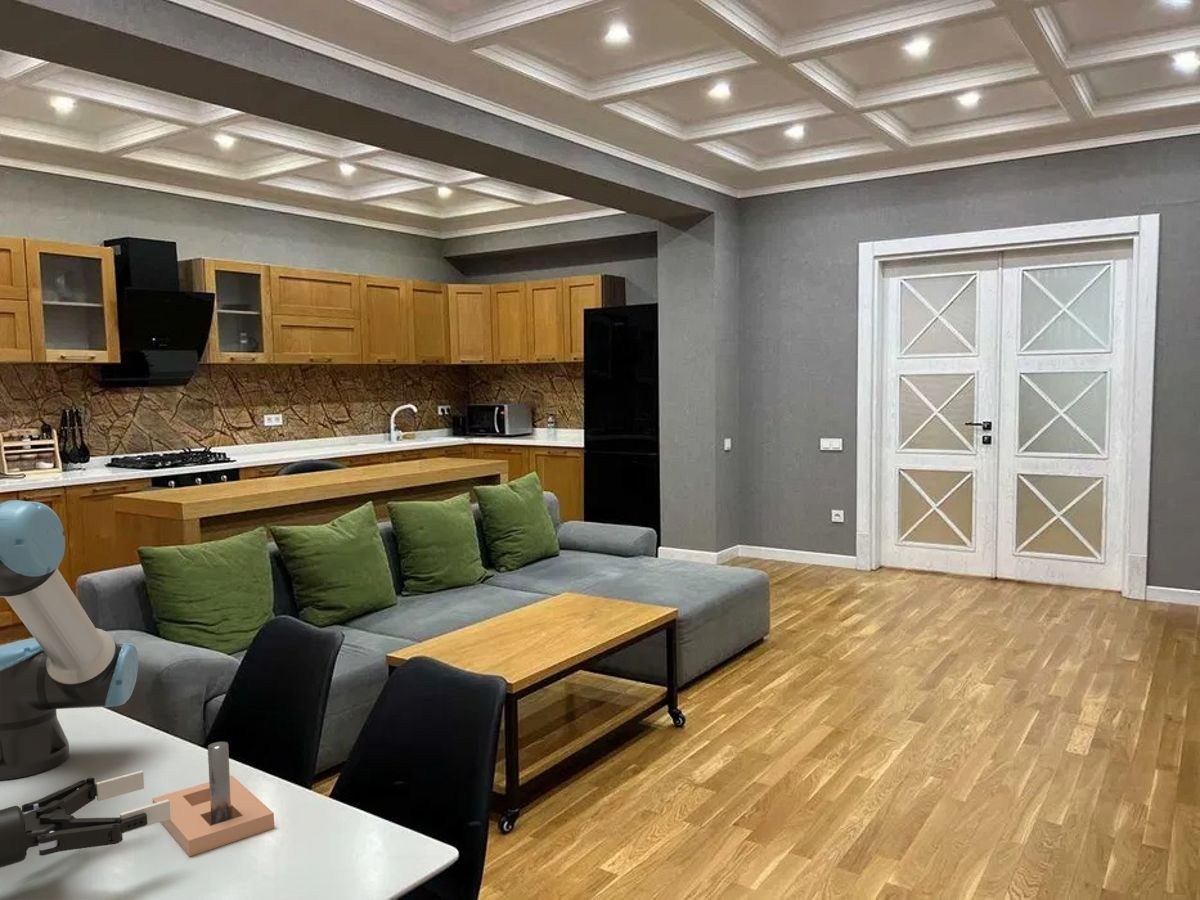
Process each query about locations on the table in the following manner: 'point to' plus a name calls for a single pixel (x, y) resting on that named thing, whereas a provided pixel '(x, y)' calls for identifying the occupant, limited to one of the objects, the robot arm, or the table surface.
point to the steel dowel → (219, 782)
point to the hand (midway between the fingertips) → (156, 793)
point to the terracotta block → (195, 817)
